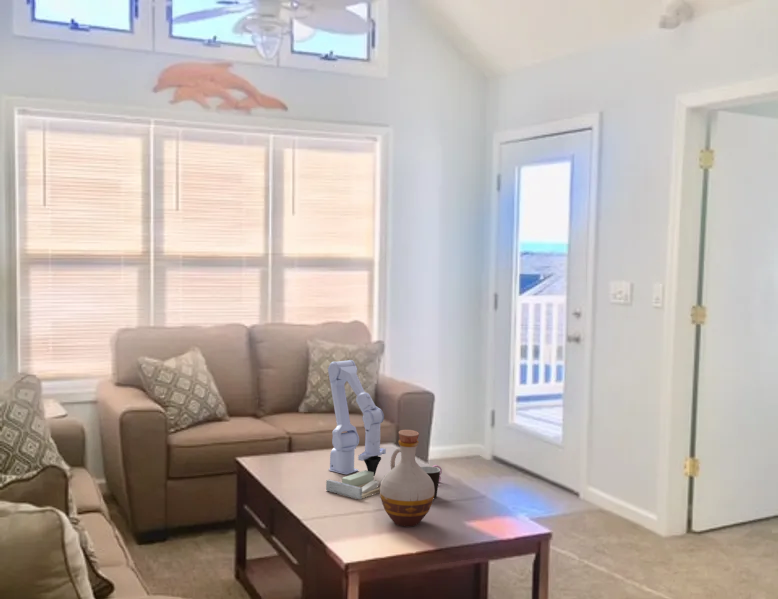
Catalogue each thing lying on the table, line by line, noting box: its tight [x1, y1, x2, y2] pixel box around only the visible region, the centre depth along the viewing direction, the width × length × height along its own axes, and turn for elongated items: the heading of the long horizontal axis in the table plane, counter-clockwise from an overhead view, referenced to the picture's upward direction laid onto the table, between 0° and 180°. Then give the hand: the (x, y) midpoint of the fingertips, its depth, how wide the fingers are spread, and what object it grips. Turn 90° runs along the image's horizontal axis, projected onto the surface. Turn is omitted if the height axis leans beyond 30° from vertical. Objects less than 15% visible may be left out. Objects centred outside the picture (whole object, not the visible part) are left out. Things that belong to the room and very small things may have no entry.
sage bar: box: [341, 469, 375, 486], centre depth 303 cm, size 4×14×4 cm, turn 143°
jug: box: [379, 429, 435, 528], centre depth 264 cm, size 20×18×30 cm
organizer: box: [325, 479, 380, 500], centre depth 297 cm, size 16×16×4 cm
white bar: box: [361, 480, 379, 494], centre depth 296 cm, size 2×14×2 cm, turn 158°
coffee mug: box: [420, 465, 441, 499], centre depth 292 cm, size 12×9×10 cm
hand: (371, 475), depth 310 cm, fingers closed
